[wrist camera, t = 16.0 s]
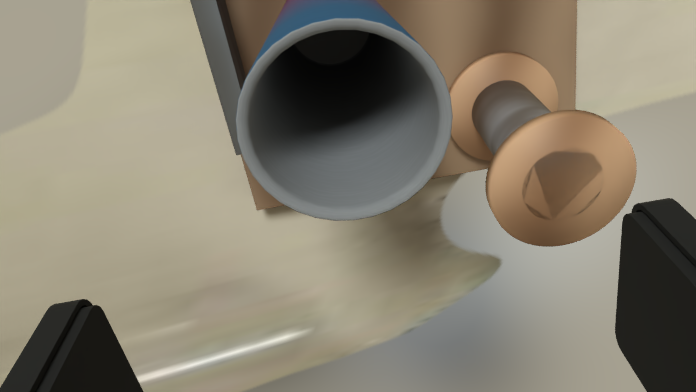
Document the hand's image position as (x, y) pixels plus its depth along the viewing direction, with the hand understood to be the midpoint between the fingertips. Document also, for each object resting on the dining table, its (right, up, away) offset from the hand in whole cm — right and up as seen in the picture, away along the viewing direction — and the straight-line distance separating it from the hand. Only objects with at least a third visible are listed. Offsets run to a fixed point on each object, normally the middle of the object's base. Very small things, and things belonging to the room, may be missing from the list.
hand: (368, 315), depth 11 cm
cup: (-1, +12, +21) cm, 24 cm away
